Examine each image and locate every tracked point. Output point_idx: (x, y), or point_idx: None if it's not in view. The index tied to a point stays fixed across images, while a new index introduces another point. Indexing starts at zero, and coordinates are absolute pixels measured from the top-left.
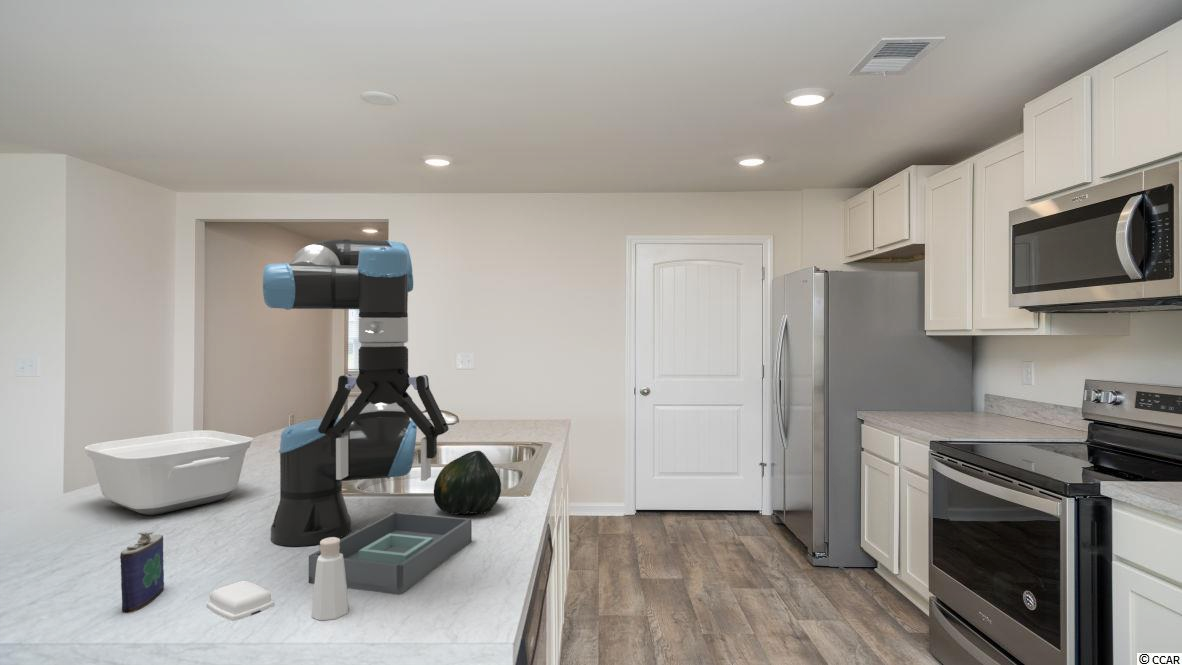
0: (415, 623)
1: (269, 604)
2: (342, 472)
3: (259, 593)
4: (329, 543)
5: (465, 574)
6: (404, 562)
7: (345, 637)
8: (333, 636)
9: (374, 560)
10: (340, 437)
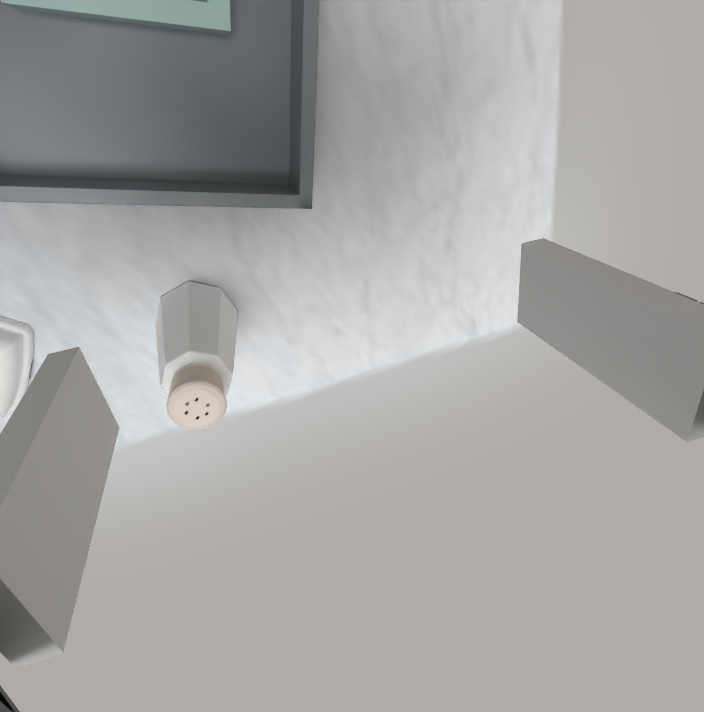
0: (391, 305)
1: (30, 343)
2: (104, 431)
3: (2, 370)
4: (214, 423)
5: (409, 12)
6: (306, 176)
7: (296, 381)
8: (273, 385)
9: (91, 17)
10: (7, 631)
